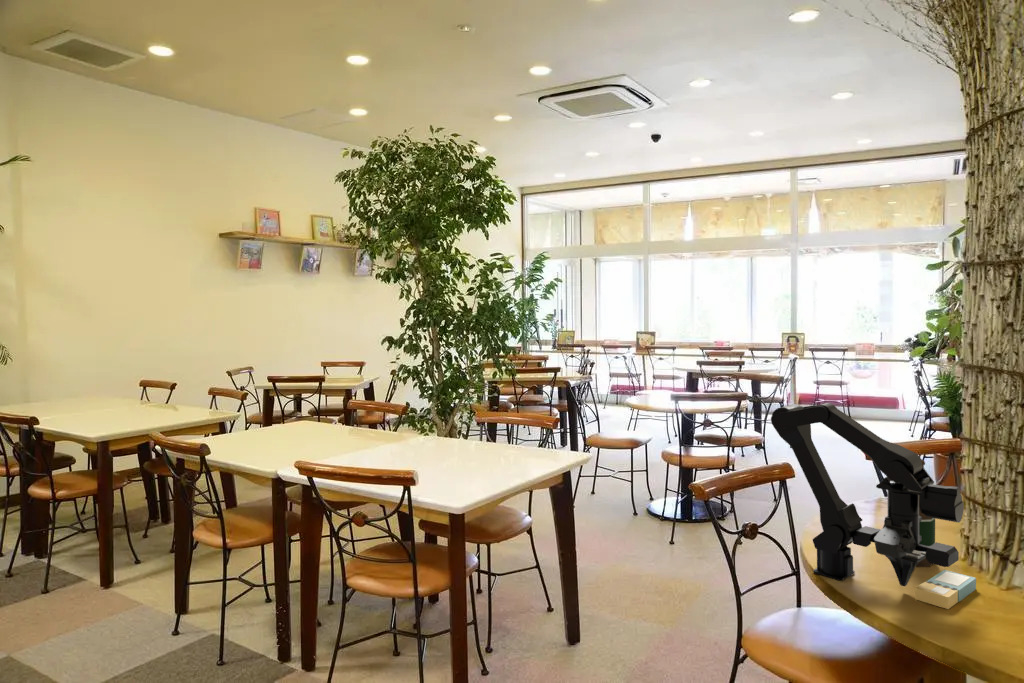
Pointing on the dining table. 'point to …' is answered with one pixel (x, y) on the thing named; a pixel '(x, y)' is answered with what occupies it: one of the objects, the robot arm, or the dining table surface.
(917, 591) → the stub
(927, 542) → the beer bottle
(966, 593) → the pale blue pin-sided card
